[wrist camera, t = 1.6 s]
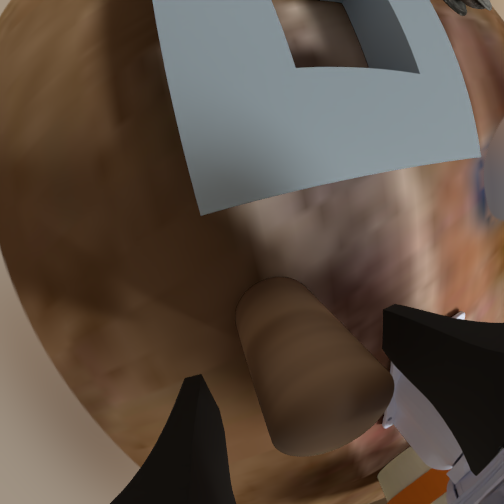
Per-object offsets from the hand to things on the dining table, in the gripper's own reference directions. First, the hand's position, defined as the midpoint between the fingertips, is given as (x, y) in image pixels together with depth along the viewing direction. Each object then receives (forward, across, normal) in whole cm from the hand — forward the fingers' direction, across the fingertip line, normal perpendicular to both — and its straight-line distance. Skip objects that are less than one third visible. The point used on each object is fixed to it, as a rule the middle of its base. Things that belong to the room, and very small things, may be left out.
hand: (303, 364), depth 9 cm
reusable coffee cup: (+4, -13, +31) cm, 34 cm away
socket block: (+4, -5, -13) cm, 14 cm away
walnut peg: (+4, 0, 0) cm, 4 cm away
